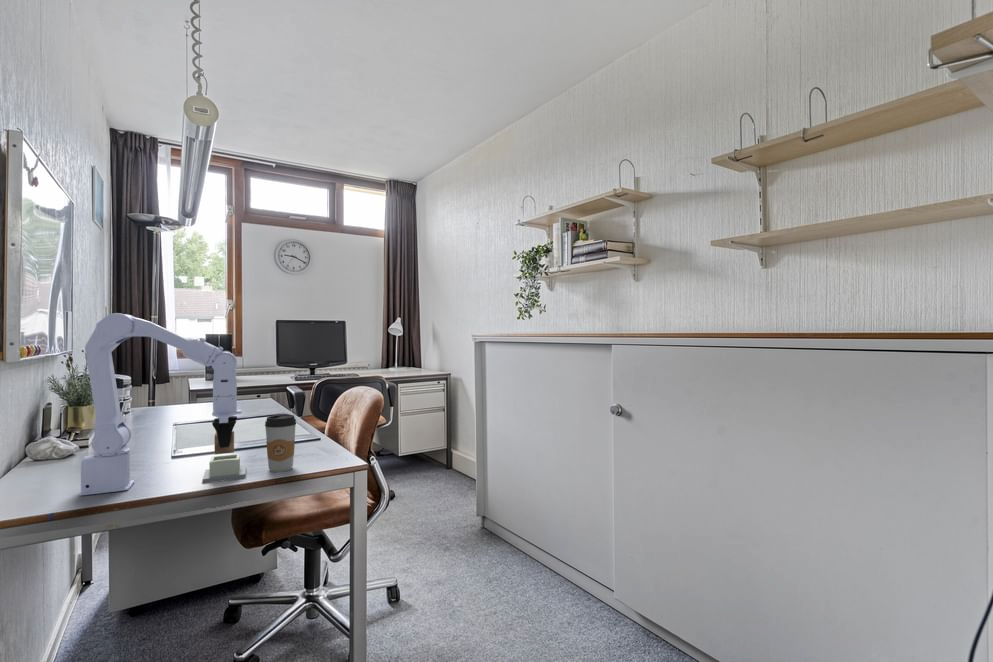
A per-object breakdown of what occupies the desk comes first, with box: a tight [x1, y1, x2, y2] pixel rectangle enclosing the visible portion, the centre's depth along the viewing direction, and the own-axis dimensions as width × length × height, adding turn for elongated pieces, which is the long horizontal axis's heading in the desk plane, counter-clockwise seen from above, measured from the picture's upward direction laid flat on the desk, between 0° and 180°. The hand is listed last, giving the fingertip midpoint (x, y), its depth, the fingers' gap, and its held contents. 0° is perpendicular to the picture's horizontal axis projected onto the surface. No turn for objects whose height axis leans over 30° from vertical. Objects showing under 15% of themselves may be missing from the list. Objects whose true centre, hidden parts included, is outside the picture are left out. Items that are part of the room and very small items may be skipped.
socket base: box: [201, 453, 247, 484], centre depth 136 cm, size 10×10×5 cm
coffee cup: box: [264, 414, 297, 473], centre depth 142 cm, size 8×8×15 cm
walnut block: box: [214, 430, 235, 455], centre depth 136 cm, size 4×4×5 cm
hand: (225, 445), depth 136 cm, fingers closed on walnut block, 4 cm apart
